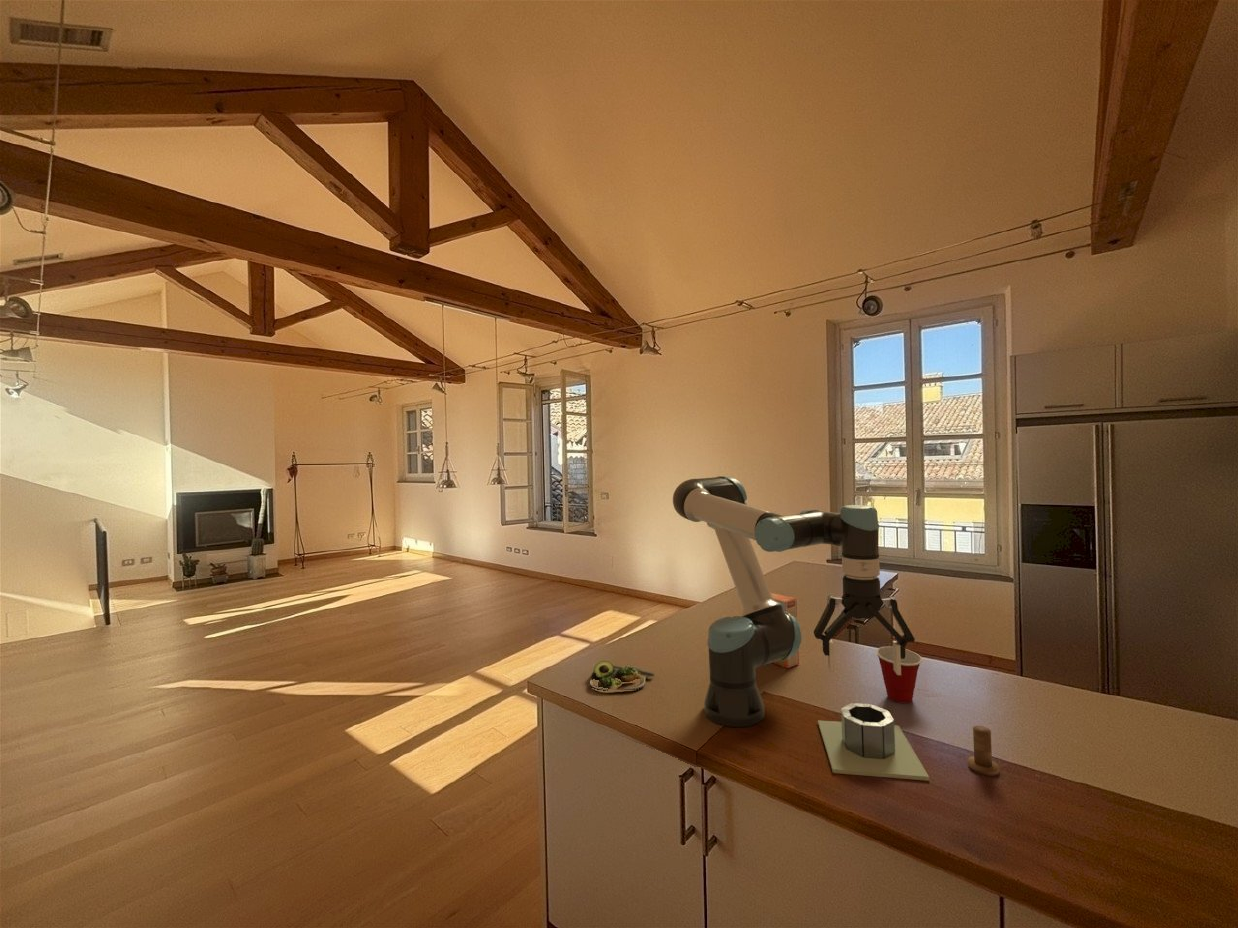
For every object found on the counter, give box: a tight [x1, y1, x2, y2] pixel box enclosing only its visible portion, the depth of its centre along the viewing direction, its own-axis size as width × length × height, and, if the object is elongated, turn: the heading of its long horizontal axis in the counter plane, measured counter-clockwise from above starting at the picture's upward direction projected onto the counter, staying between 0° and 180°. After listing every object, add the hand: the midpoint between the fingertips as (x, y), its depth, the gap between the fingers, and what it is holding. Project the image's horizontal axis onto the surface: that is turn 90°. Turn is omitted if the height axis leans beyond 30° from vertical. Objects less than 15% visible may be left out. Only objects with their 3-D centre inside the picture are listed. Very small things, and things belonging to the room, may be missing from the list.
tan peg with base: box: [967, 725, 1000, 777], centre depth 107 cm, size 5×5×8 cm
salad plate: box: [588, 660, 655, 691], centre depth 157 cm, size 19×18×5 cm
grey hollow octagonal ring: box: [840, 702, 895, 759], centre depth 115 cm, size 10×10×7 cm
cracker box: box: [770, 592, 800, 669], centre depth 166 cm, size 14×6×21 cm, turn 33°
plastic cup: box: [875, 646, 923, 704], centre depth 137 cm, size 11×11×12 cm
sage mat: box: [817, 720, 930, 782], centre depth 115 cm, size 18×20×1 cm
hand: (863, 671), depth 115 cm, fingers open, 13 cm apart
